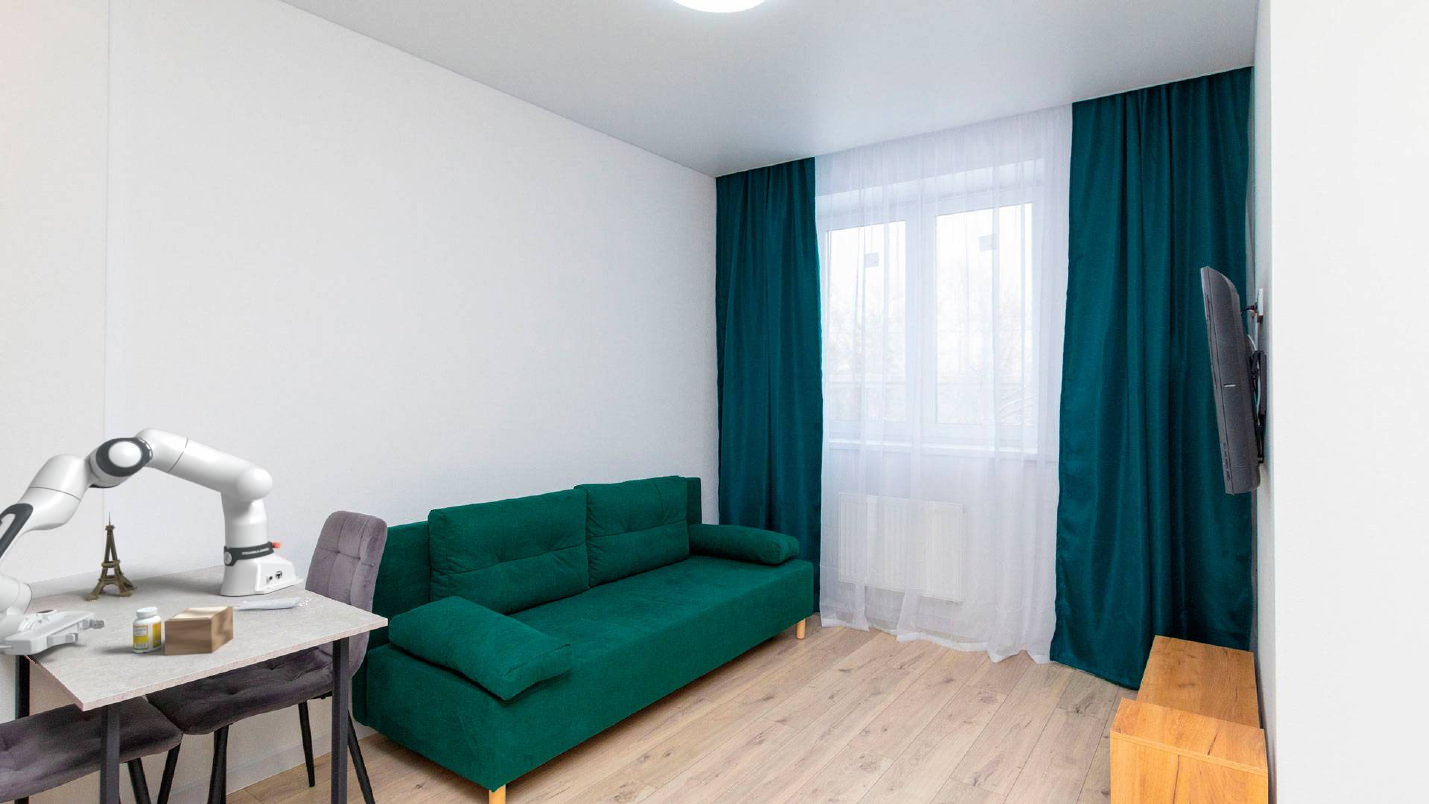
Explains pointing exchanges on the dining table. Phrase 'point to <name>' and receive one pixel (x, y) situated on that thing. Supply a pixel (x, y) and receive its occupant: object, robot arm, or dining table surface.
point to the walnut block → (198, 630)
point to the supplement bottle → (146, 630)
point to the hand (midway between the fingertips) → (90, 630)
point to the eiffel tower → (118, 577)
